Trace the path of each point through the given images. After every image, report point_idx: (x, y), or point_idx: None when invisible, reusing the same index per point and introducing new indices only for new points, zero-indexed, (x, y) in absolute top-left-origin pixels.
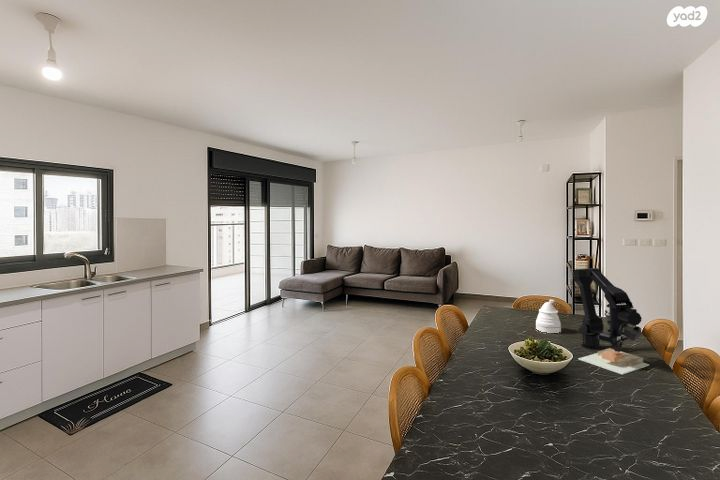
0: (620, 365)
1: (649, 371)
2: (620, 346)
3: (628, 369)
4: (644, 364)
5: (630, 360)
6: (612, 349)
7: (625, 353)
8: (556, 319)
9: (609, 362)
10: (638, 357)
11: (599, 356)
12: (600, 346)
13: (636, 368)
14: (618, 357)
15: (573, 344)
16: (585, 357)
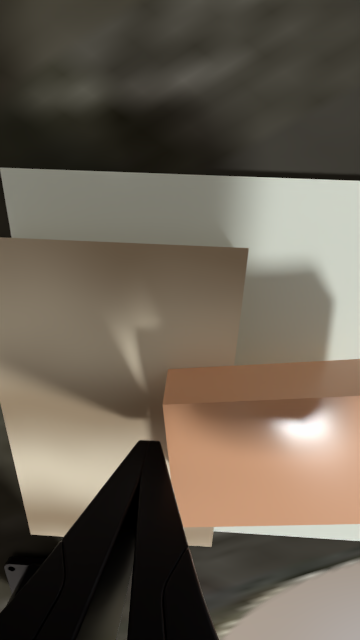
0: (280, 317)
1: (177, 64)
2: (112, 546)
3: (336, 218)
4: (47, 199)
5: (193, 275)
6: (41, 512)
7: (24, 411)
8: None
9: None
10: (2, 275)
11: None
12: (11, 562)
13: (238, 183)
14: (299, 378)
15: (119, 632)
16: (309, 527)
